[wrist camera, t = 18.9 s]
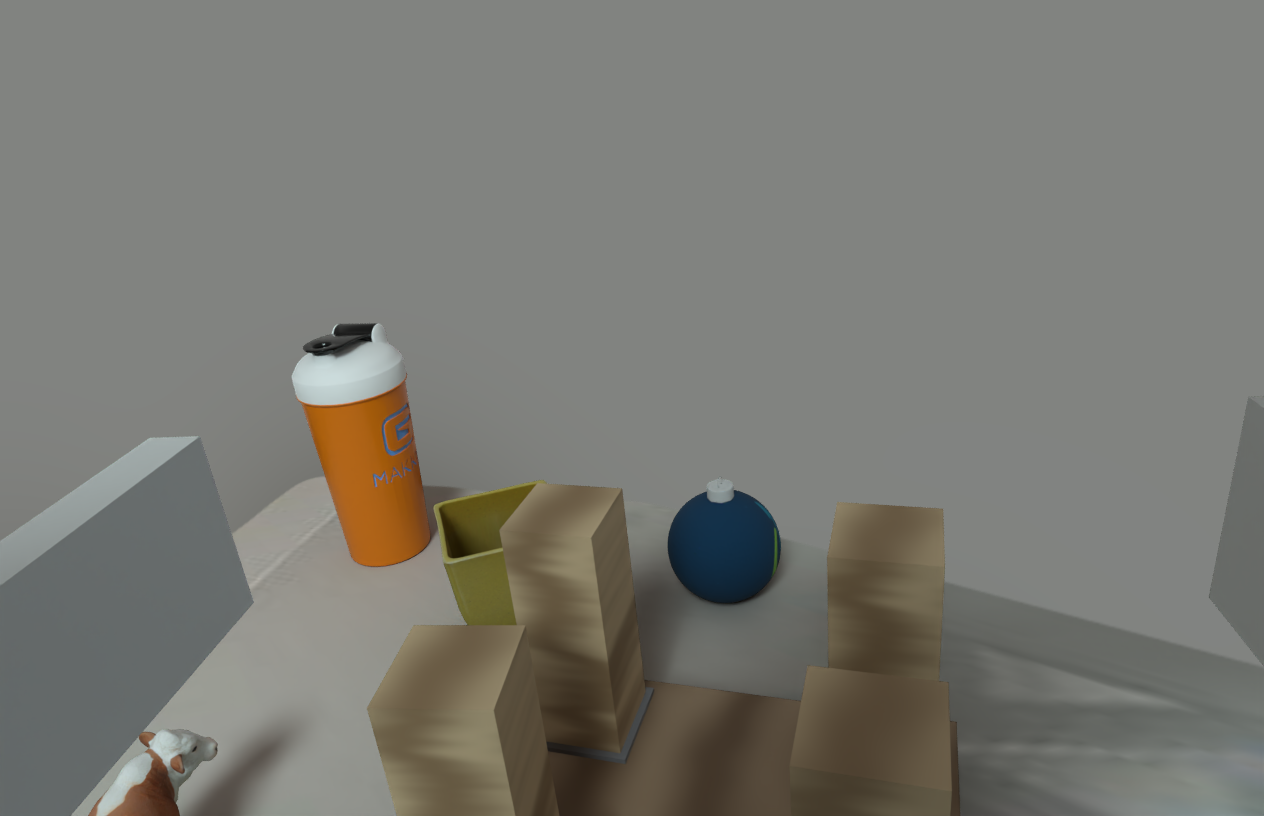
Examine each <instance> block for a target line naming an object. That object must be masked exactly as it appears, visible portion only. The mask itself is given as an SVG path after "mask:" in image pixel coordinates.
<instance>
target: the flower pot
mask: <svg viewBox="0 0 1264 816" xmlns="http://www.w3.org/2000/svg"><path fill="white" fill-rule="evenodd" d="M537 483H542V484H547V483H546V482H545V481H544V480H539V481H534V482H528V483H523V484H520V485H515V486H511V487H506V488H502V489H498V490H493V491H489V492H484V493H480V494H475V495H470V496H465V497H461V498H456V499H452V500H447V501H444V502H441V503H438V504H435V505H434V507H433V509H434V513H435V517H436V521H437V525H438V530H439V536H440V542H441V549H442V557H443V563H444V566H445V569H446V572H447V574H448V577H449V580H450V583H451V586H452V589H453V592H454V595H455V598H456V601H457V604H458V607H459V610H460V612H461V614H462V616H463V618H464V620H465V622H466V623H467V625H517V624H516V618H515V613H514V608H513V602H512V597H511V591H510V586H509V580H508V575H507V569H506V564H505V558H504V553H503V547H502V542H501V537H500V531H499V530H500V529H501V527H502V526H503V525H504V524H505V522H506V521H507V520H508V519H509V518H510V516H511V515H512V514H513V513H514V511H515V510H516V509H517V508H518V507H519V505H520V504H521V503H522V502H523V500H524V499H525V498H526V497H527V495H528V494H529V493H530V492H531V491H532V489H533V488H534V487H535V486H536V484H537Z"/></svg>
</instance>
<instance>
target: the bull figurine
mask: <svg viewBox="0 0 1264 816" xmlns="http://www.w3.org/2000/svg"><path fill="white" fill-rule="evenodd" d="M139 740H140V741H141V742H142V743H143V744H144V745H145V746H147V747H149V749H148V750H147V751H146V752H144V753H143V754H141V755H139V756H137V757H135V758H133V759H132V760H131V761H129V762H128V763H127V764H126V765H125V766H124V767H123V769H122V770H121V772H120V773H119V775H118V777H117V779H116V780H115V782H114V783H113V784H112V785H111V787H110V788H109V789H108V790H107V791H106V792H105V794H104V795H103V796H102V797H101V798H100V799H99V800H98V801H97V803H96V804H95V805H94V807H93V809H92V810H91V812H90V814H89V815H88V816H180V813H179V810H178V806H177V805H176V802H177V800H178V790H179V787H180V786H181V785H182V784H183V783H184V782H185V781H186V780H187V779H188V778H189V777H190V776H191V774H192V772H193V771H194V770H195V769H196V768H197V767H198V765H199V764H200V763H201V762H202V761H210V760H212V759H213V758H214V757H215V756H216V754H217V745H218V744H217V742H216V741H215V740H213V739H212V738H210V737H206V738H205V737H203V736H200V735H197V734H195V733H193V732H191V731H189V730H183V729H177V730H169V729H163V730H161V731H159V732H158V733H157V734H154V733H152V732H142V733H141V734H140V735H139Z"/></svg>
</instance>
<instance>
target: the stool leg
mask: <svg viewBox="0 0 1264 816" xmlns="http://www.w3.org/2000/svg"><path fill="white" fill-rule="evenodd" d="M367 710H368V714H369V717H370V721H371V724H372V728H373V732H374V735H375V739H376V742H377V746H378V749H379V753H380V757H381V760H382V764H383V767H384V771H385V775H386V778H387V782H388V785H389V789H390V793H391V796H392V800H393V803H394V807H395V810H396V814H397V816H559V810H558V805H557V799H556V794H555V788H554V782H553V777H552V771H551V766H550V760H549V754H548V749H547V743H546V738H545V732H544V726H543V721H542V715H541V710H540V704H539V698H538V693H537V687H536V682H535V676H534V670H533V665H532V659H531V654H530V648H529V642H528V637H527V631H526V626H525V625H413V627H412V629H411V631H410V633H409V634H408V636H407V638H406V640H405V641H404V643H403V645H402V647H401V649H400V650H399V652H398V654H397V656H396V657H395V659H394V661H393V663H392V665H391V666H390V668H389V670H388V672H387V673H386V675H385V677H384V679H383V681H382V682H381V684H380V686H379V688H378V690H377V691H376V693H375V695H374V697H373V698H372V700H371V702H370V704H369V706H368V707H367Z"/></svg>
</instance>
